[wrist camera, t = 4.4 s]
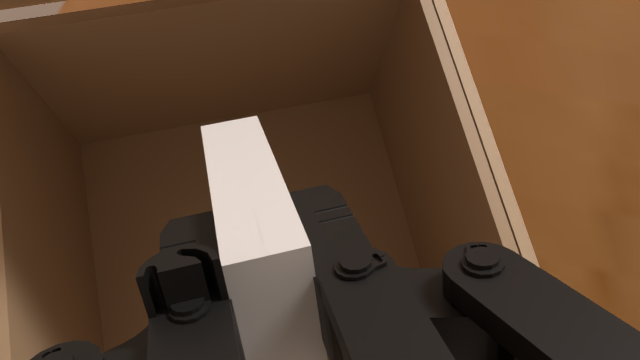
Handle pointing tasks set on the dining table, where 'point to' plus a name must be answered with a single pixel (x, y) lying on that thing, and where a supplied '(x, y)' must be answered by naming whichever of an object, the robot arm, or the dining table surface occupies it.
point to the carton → (215, 107)
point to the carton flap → (23, 3)
